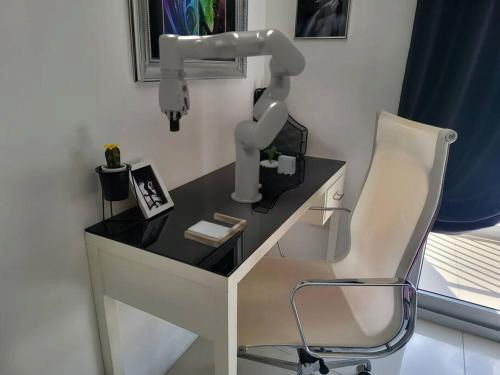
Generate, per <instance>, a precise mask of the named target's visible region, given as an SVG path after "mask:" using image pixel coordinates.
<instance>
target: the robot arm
mask: <svg viewBox="0 0 500 375" xmlns="http://www.w3.org/2000/svg"><path fill="white" fill-rule="evenodd" d="M158 46H159V49H158V50H159V66H160V79H159V84H158V105H159V109H160V112H161V113H162V114H164V115H166V117H167V119H168V121H169V132H173V133H176V132H180V130H181V129H180V120H181V119H182V118H183V116H187V115H188V114H189V113H188V111H190V107H191V103H190V101H191V100H190V92H189V91H190V90H189V87H188V83H187V80H186V79H185V78H186V77H187V73H186V71H185V63H184V61H185V60H187V61H201V60H203V59H204V60H205V59H238V58H252V57H262V56H271V57H270V59H269V64H268V67H269V73H270V81H269V84H268V86H267V87H266V89H265V90H264V91H263V93H262V94H261V96H260V97H259V98H258V100H257V101H256V103H255V104H254V105H253V108H252V116H253V117H254V118H255V120H256V121H254V120H251V119H244V120H241V121H239V122H238V123H237V124H236V125H235V127H234V132H233V137H234V144H235V172H234V175H235V181H234V183H235V184H234V185H235V187H234V192H232V193H231V196H230V198H231V199H232V200H233V201H234V202H237V203H241V204H253V203H257V202H260V201H261V200H262V197H263V195H262V193H260V192H259V189H261V188H262V184H261V183H260V182H259V181H260V162H261V161H260V158H261V156H260V155H261V153H260V151H261V150H264V149H267V148H268V147H269V146H270V145H271V144H272V142H273V141H274V140H275V138H276V137H277V136H278V134H279V133H280V131H281V130H282V129H283V127H284V125H285V124H286V122H287V120H288V117H289V107H288V105H287V104H286V103H285V101H286V99H287V98H288V96H289V93H290V92H291V77H296V76H299V75H301V74H302V73H303V72H304V70H305V67H306V59H305V57H304V55H303V53H302V52H301V51H300V49H298V47H297V46H295V44H293V42H292V41H291V40H290V39H289V38H288V37H287V36H286V35H285V34H284V33H283V32H281V30H279V29H278V28H277V29H276V28H268V29H259V30H257V29H256V30H242V31H241V30H240V31H228V32H223V33H218V34H211V35H197V34H194V35H193V34H191V35H180V34H173V33H164V34H161V35H159V37H158Z"/></svg>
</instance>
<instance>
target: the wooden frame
mask: <svg viewBox="0 0 500 375" xmlns="http://www.w3.org/2000/svg"><path fill="white" fill-rule="evenodd" d="M213 220H216V221H220V222H223V223H226V224H230V225H234V226H232V227H231V229H230V230H228V231H227V232H225V233H224V234H223V235H221V236H220V237H218V238H217V239H214V238H211V237H208V236H204V235H201V234H198V233H194V232H191V231H188V229H187V230H185V231H184V238H185V239H189V240H192V241H194V242H198V243H202V244H204V245H207V246H211V247H214V248H219V247H220V246H222V245H223V244H225V242H227V241H228V240H229V239H230V238H232V237H233V236H235V235H236V234H237V233H239V232H240V231H241V230H242V229H244V228H245V227H247V220H246V219H243V218H242V219H240V218H238V217H233V216H231V215H226V214H222V213H218V212H214V213H213Z"/></svg>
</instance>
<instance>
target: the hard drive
mask: <svg viewBox="0 0 500 375" xmlns="http://www.w3.org/2000/svg"><path fill="white" fill-rule="evenodd" d="M231 228H232V227H231ZM231 228H230V227H227V226H224V225H221V224H217V223H213V222H209V221H205V220H200V221H198V222H197V223H196V224H194V225H192V226H190V227H189V228H188V229H187V230H188V231H191V232H194V233H198V234H201V235H204V236H208V237H211V238H214V239H217V238H218V237H220V236H221V235H223V234H224V233H225V232H227V231H228V230H230V229H231Z"/></svg>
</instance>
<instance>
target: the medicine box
mask: <svg viewBox="0 0 500 375" xmlns="http://www.w3.org/2000/svg"><path fill="white" fill-rule="evenodd" d="M296 158H297V157H295V156H289V155H288V156H287V155H283V154H282V155H279V156H278V158H277V161H278V167H277V173H278V174H282V173H284V174H283V175H287V174H290V175H289V176H293V175H294V174H295V173H296V162H297V161H296ZM292 174H293V175H292Z"/></svg>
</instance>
